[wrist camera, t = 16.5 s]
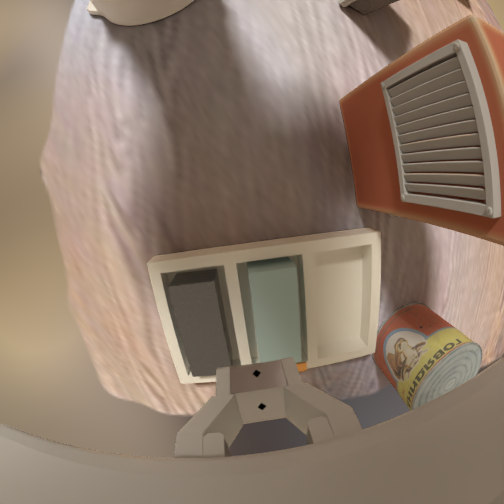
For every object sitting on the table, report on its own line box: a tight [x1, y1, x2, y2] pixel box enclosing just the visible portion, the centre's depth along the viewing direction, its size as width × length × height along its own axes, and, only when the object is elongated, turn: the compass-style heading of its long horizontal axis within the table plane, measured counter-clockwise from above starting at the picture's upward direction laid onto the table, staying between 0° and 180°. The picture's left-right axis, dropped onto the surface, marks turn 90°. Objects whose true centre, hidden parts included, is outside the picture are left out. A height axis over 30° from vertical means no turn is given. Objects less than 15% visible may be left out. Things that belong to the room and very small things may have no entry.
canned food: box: [372, 303, 482, 410], centre depth 28 cm, size 11×11×12 cm
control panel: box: [339, 15, 504, 246], centre depth 17 cm, size 21×7×15 cm
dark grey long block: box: [168, 269, 233, 377], centre depth 29 cm, size 11×4×4 cm, turn 7°
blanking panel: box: [247, 256, 302, 363], centre depth 29 cm, size 11×4×4 cm, turn 7°
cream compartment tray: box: [147, 227, 381, 384], centre depth 30 cm, size 16×24×3 cm, turn 97°
